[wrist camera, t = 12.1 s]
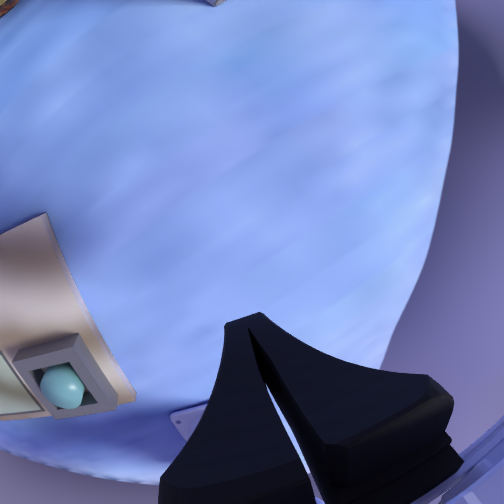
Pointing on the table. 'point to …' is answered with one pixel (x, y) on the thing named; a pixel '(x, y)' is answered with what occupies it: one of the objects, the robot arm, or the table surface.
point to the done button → (62, 386)
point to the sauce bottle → (7, 6)
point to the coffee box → (215, 2)
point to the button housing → (83, 363)
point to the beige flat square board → (42, 314)
